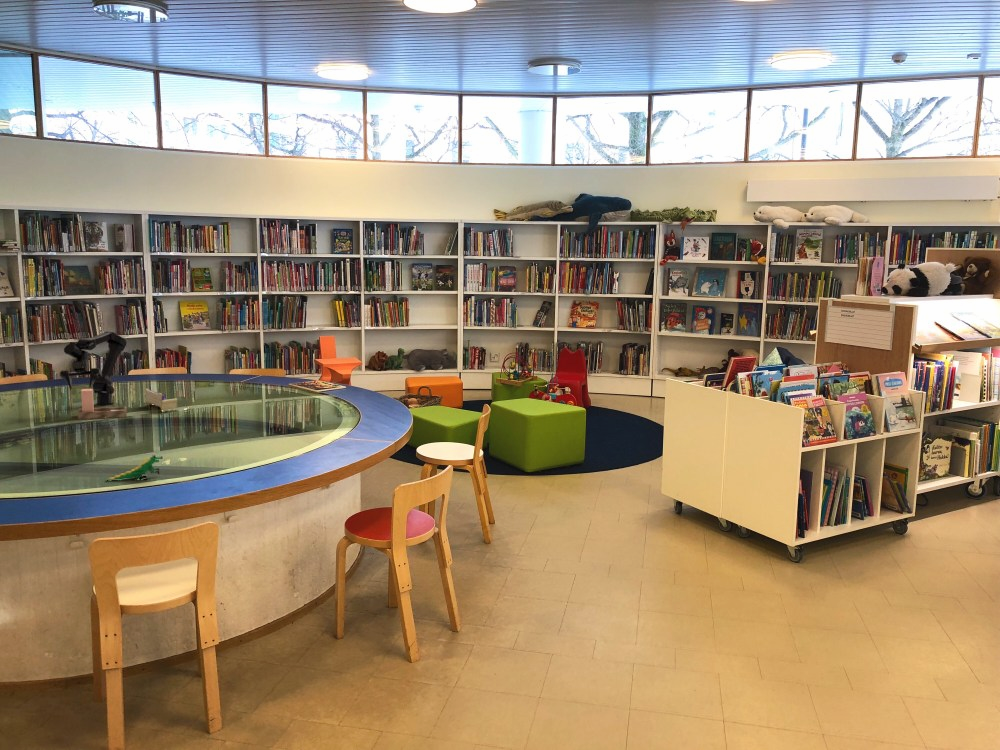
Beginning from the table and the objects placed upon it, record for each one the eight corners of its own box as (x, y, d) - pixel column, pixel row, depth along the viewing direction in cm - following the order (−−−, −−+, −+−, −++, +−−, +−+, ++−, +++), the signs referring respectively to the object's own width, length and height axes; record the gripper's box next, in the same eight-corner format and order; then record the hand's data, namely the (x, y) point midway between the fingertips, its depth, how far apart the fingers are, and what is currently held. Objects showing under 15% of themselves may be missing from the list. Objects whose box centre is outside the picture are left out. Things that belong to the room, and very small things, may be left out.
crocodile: (105, 483, 299) (104, 460, 297) (106, 479, 304) (105, 456, 303) (163, 479, 307) (162, 457, 306) (162, 475, 312) (162, 453, 311)
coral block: (82, 414, 401) (81, 390, 399) (82, 412, 405) (81, 389, 404) (93, 413, 403) (92, 390, 401) (93, 411, 407) (92, 388, 406)
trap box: (78, 419, 398) (77, 412, 398) (79, 415, 407) (79, 408, 407) (126, 417, 407) (126, 410, 407) (126, 413, 416) (126, 406, 416)
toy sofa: (178, 411, 428) (177, 392, 426) (162, 413, 421) (161, 394, 420) (160, 404, 441) (159, 386, 440) (144, 406, 435) (144, 388, 434)
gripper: (56, 356, 406) (55, 384, 400) (96, 353, 410) (95, 380, 404) (63, 365, 416) (62, 392, 410) (102, 362, 420) (101, 389, 414)
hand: (80, 388), depth 409 cm, fingers open, 9 cm apart
